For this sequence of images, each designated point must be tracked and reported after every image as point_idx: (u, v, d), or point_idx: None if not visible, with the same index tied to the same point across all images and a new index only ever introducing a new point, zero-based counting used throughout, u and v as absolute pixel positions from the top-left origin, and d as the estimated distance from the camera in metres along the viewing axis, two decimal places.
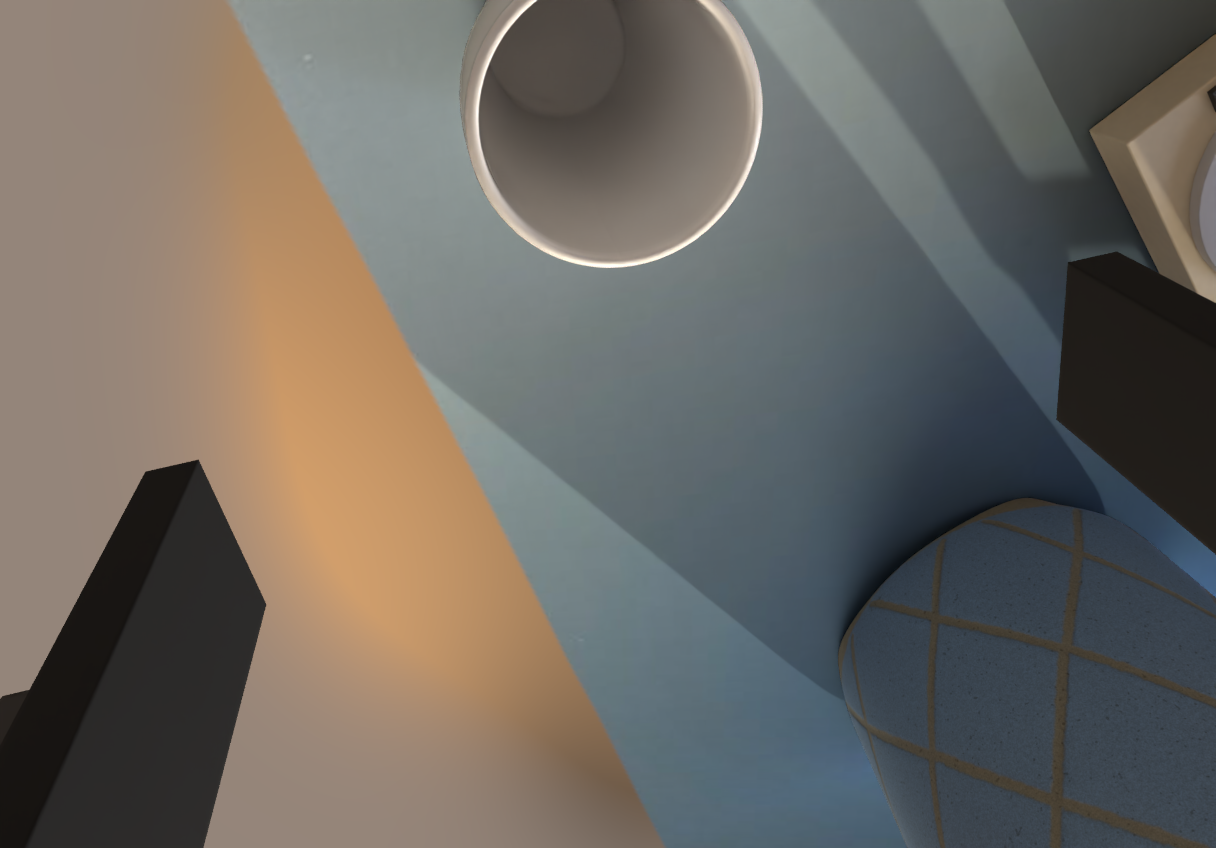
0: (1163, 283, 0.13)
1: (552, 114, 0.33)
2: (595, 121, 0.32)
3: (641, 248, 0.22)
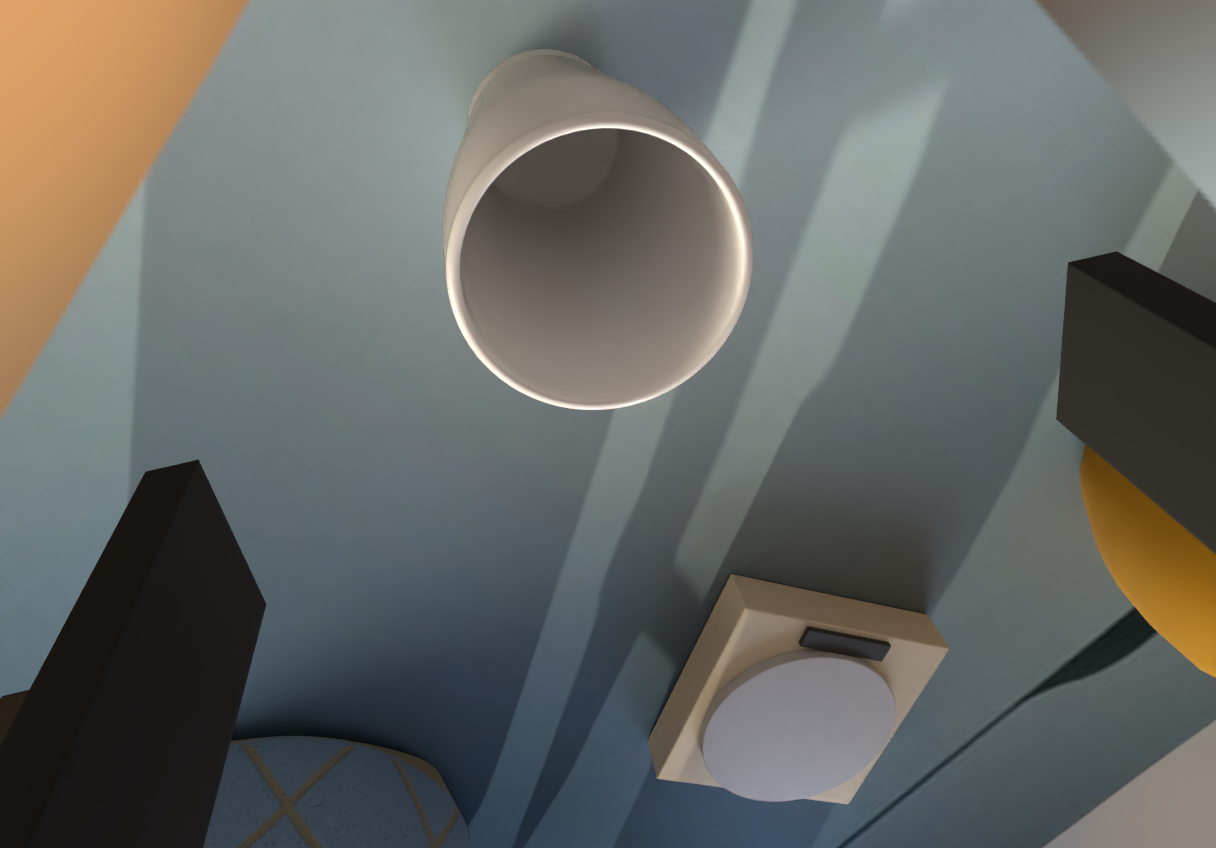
0: (1163, 283, 0.13)
1: None
2: (514, 214, 0.31)
3: (504, 362, 0.21)
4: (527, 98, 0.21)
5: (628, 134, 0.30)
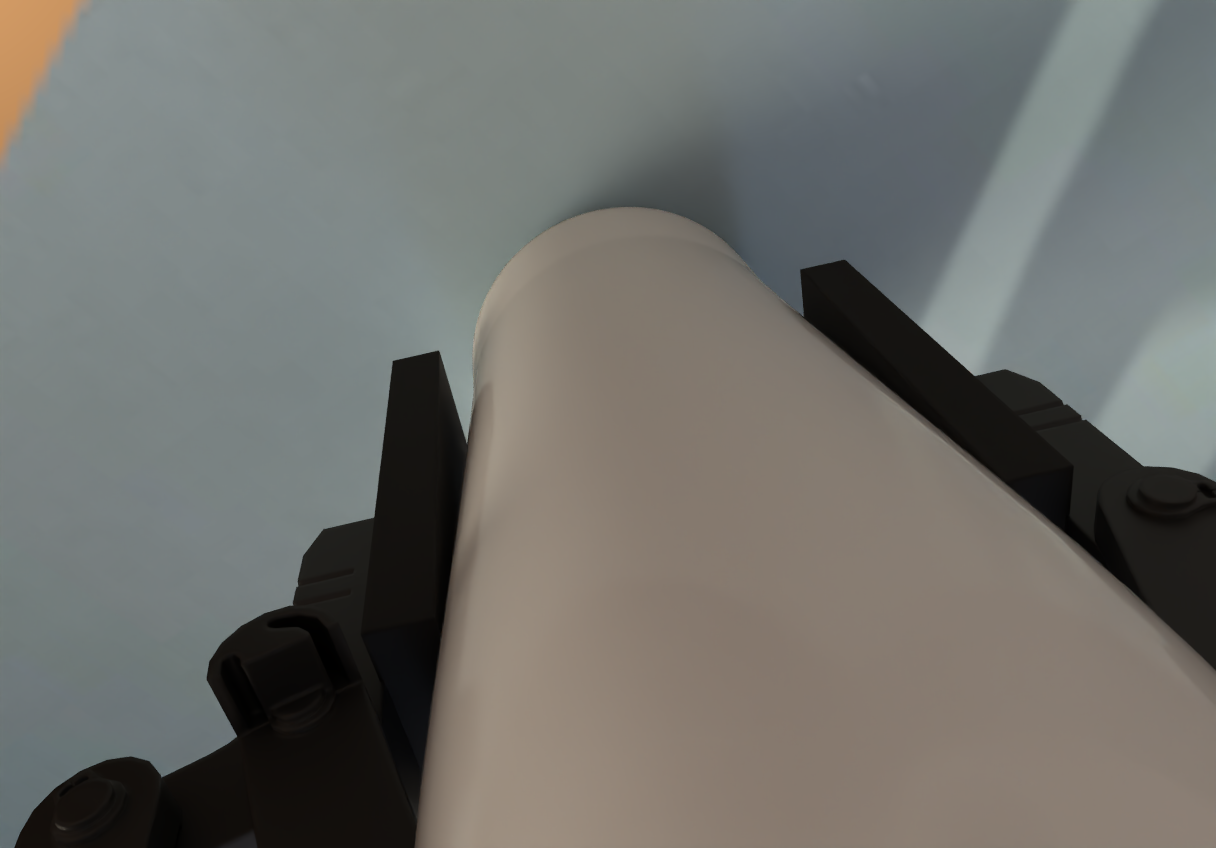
0: (865, 288, 0.14)
1: None
2: None
3: None
4: (728, 710, 0.05)
5: None
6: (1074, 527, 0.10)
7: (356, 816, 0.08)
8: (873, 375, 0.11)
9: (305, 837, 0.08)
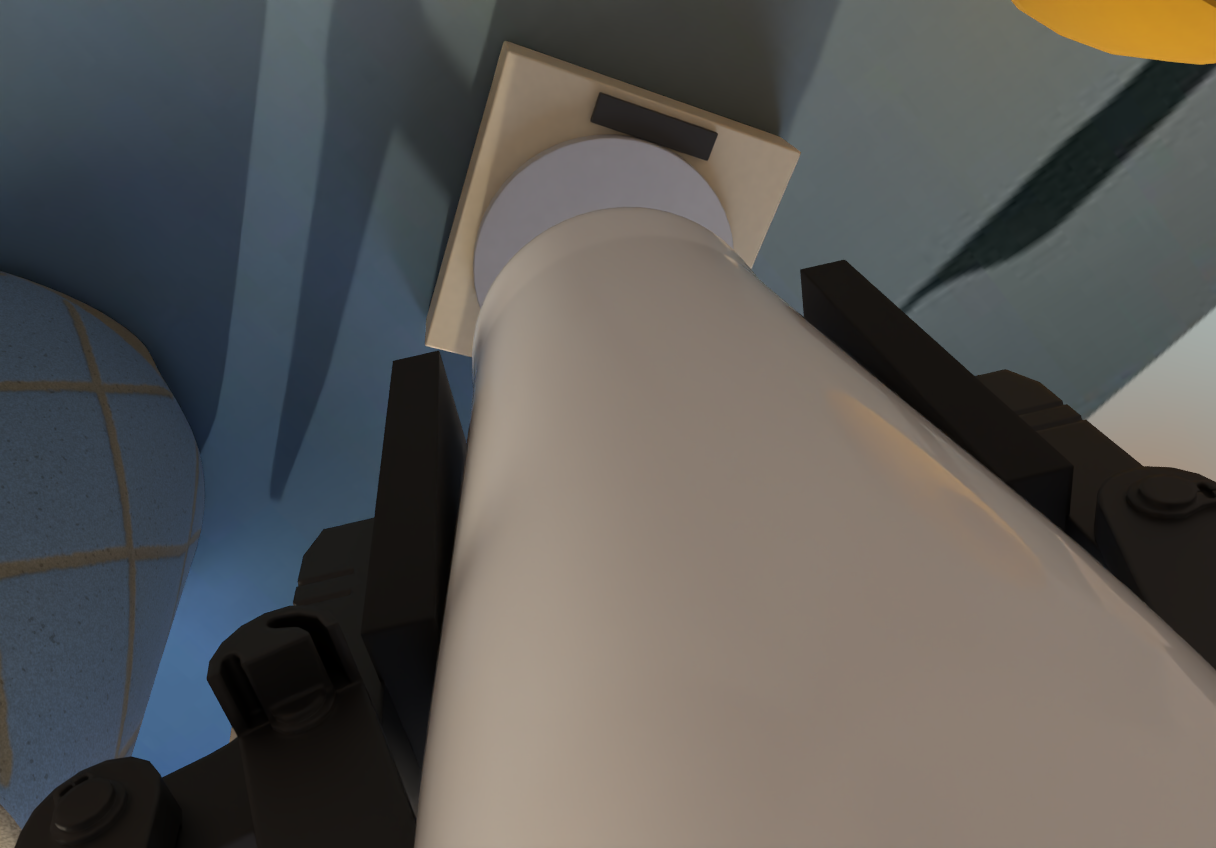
0: (865, 288, 0.14)
1: None
2: None
3: None
4: (729, 712, 0.05)
5: None
6: (1074, 527, 0.10)
7: (356, 816, 0.08)
8: None
9: (305, 837, 0.08)
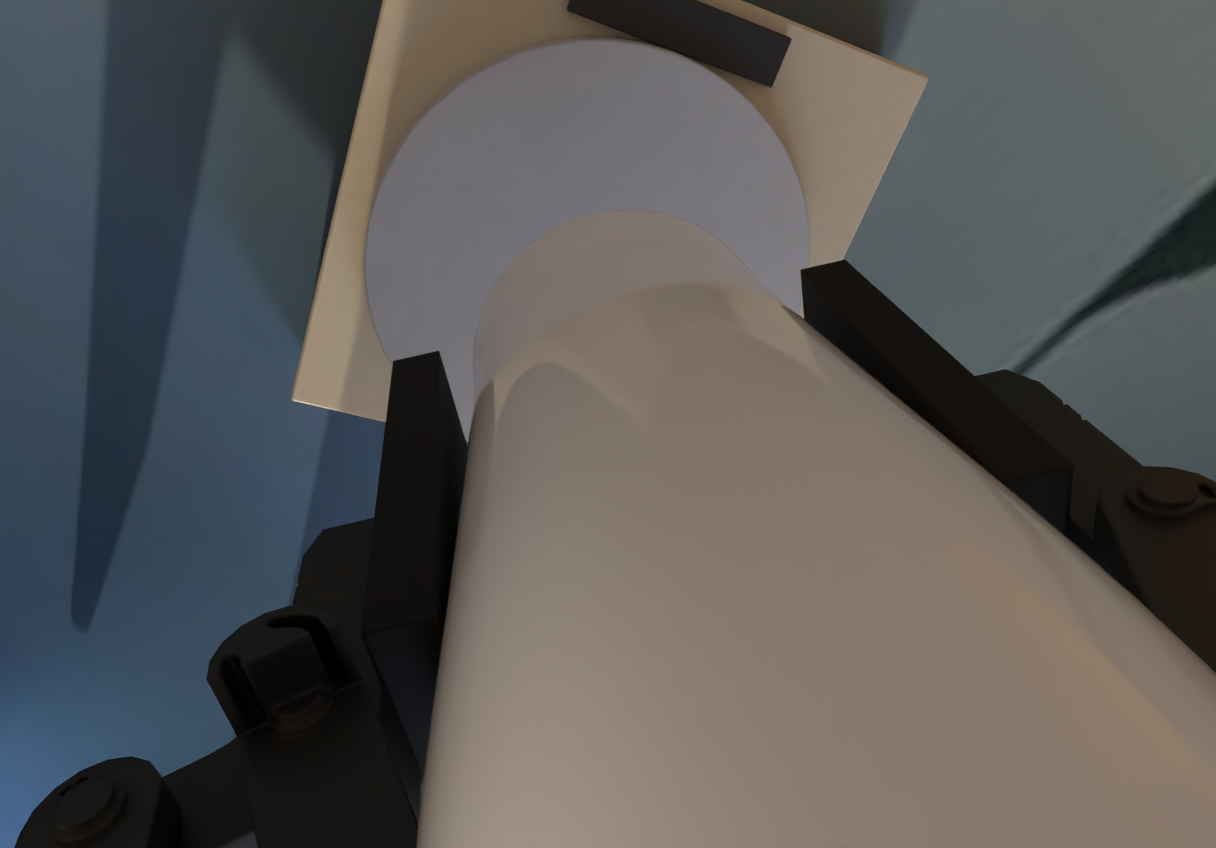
0: (865, 288, 0.14)
1: None
2: None
3: None
4: (731, 718, 0.05)
5: None
6: (1074, 527, 0.10)
7: (356, 816, 0.08)
8: None
9: (305, 837, 0.08)
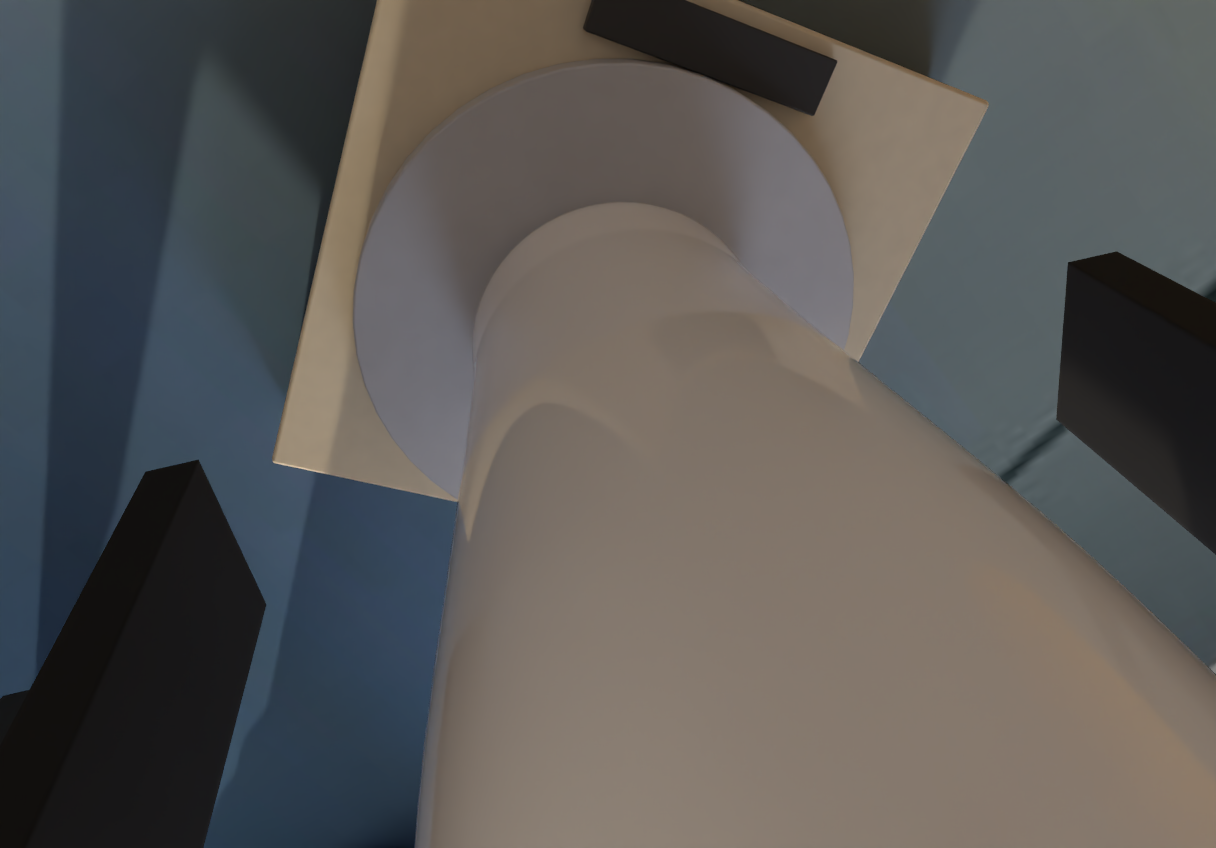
0: (1163, 283, 0.13)
1: None
2: None
3: None
4: (707, 650, 0.06)
5: None
6: None
7: None
8: None
9: None
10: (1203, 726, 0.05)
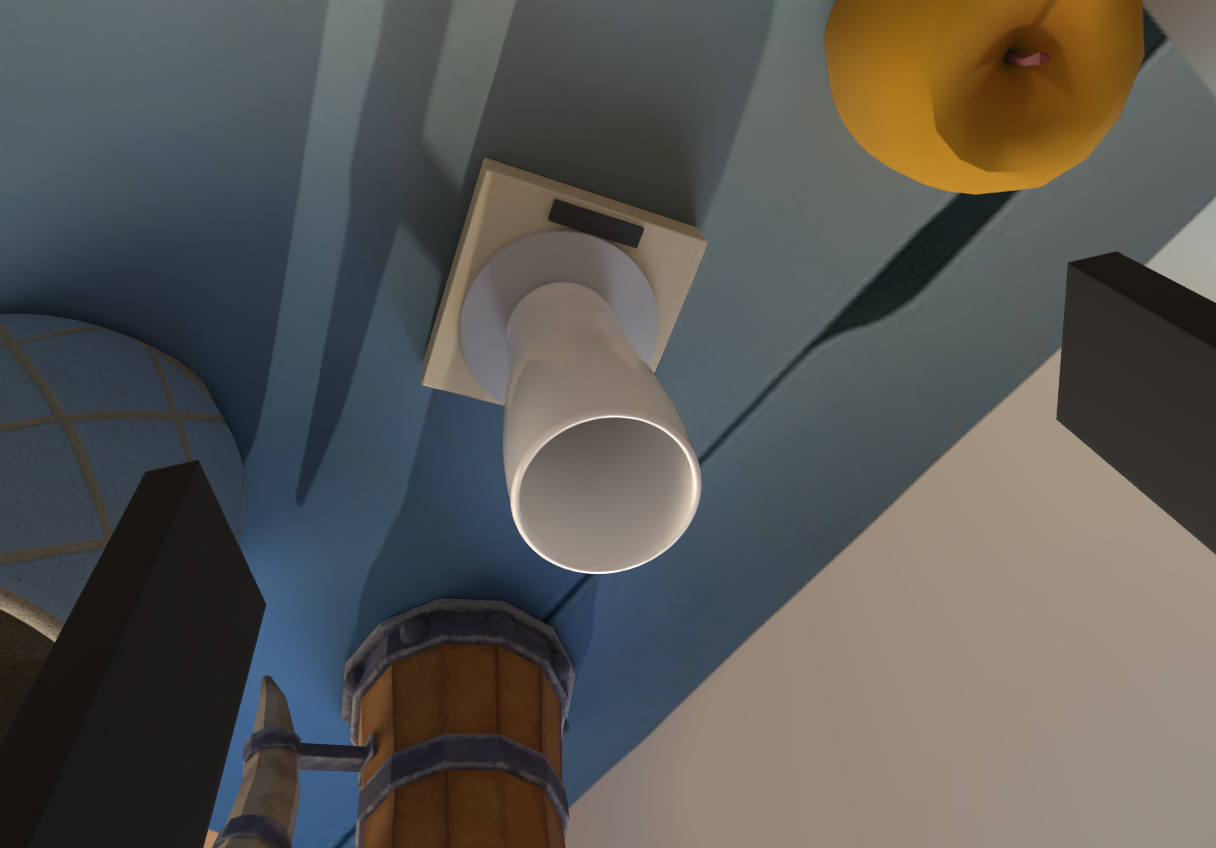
0: (1163, 283, 0.13)
1: None
2: None
3: (544, 545, 0.33)
4: (559, 380, 0.33)
5: None
6: None
7: None
8: (623, 336, 0.38)
9: None
10: (637, 389, 0.32)
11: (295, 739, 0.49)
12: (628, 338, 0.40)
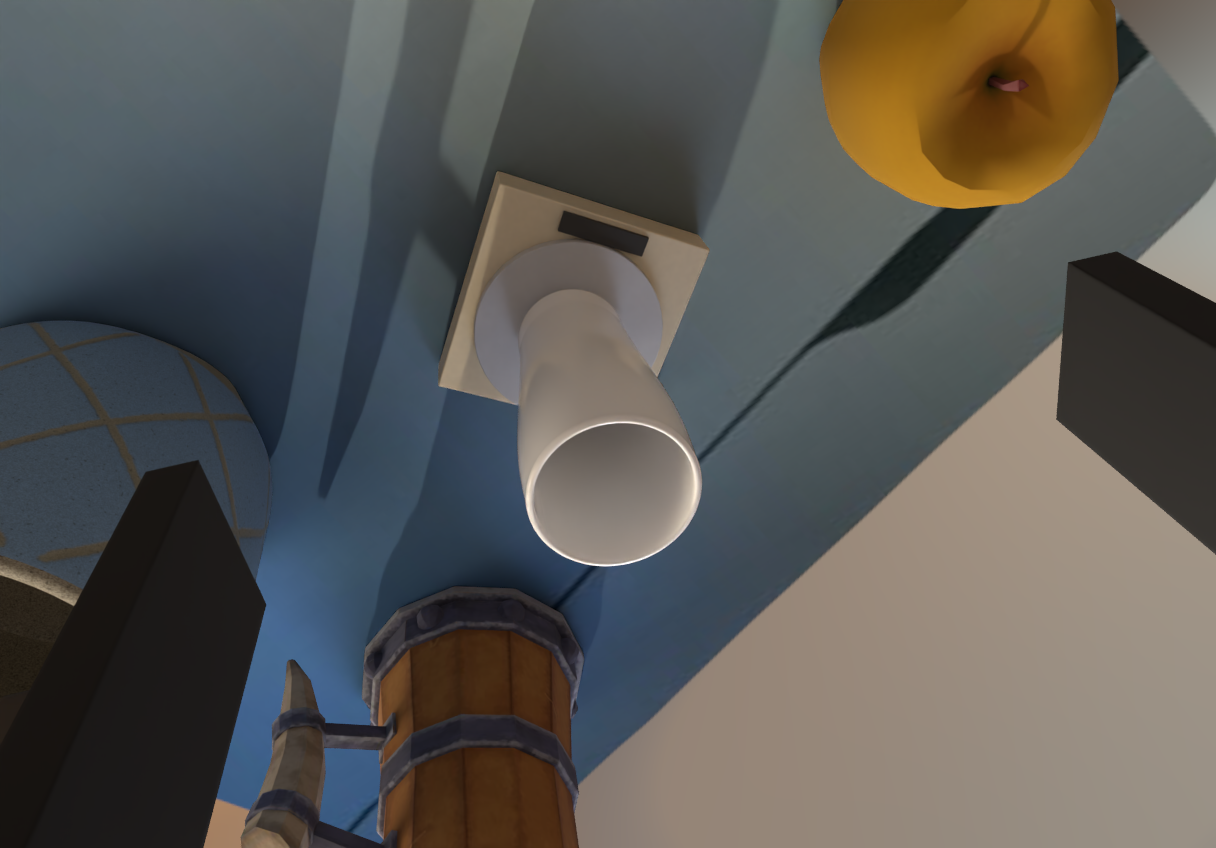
0: (1163, 283, 0.13)
1: None
2: None
3: (556, 540, 0.36)
4: (570, 388, 0.35)
5: None
6: None
7: None
8: (629, 343, 0.41)
9: None
10: (642, 395, 0.35)
11: (320, 719, 0.52)
12: (634, 344, 0.42)
